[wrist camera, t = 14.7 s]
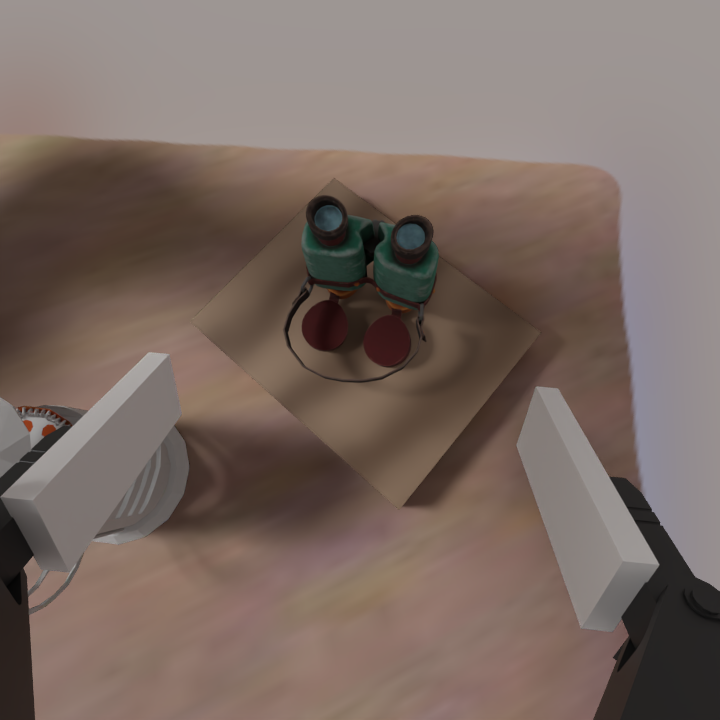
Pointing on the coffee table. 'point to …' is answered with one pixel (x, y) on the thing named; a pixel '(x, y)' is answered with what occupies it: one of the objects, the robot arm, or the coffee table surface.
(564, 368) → the coffee table surface
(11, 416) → the white plunger jar
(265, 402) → the coffee table surface
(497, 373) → the walnut stand
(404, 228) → the binoculars
